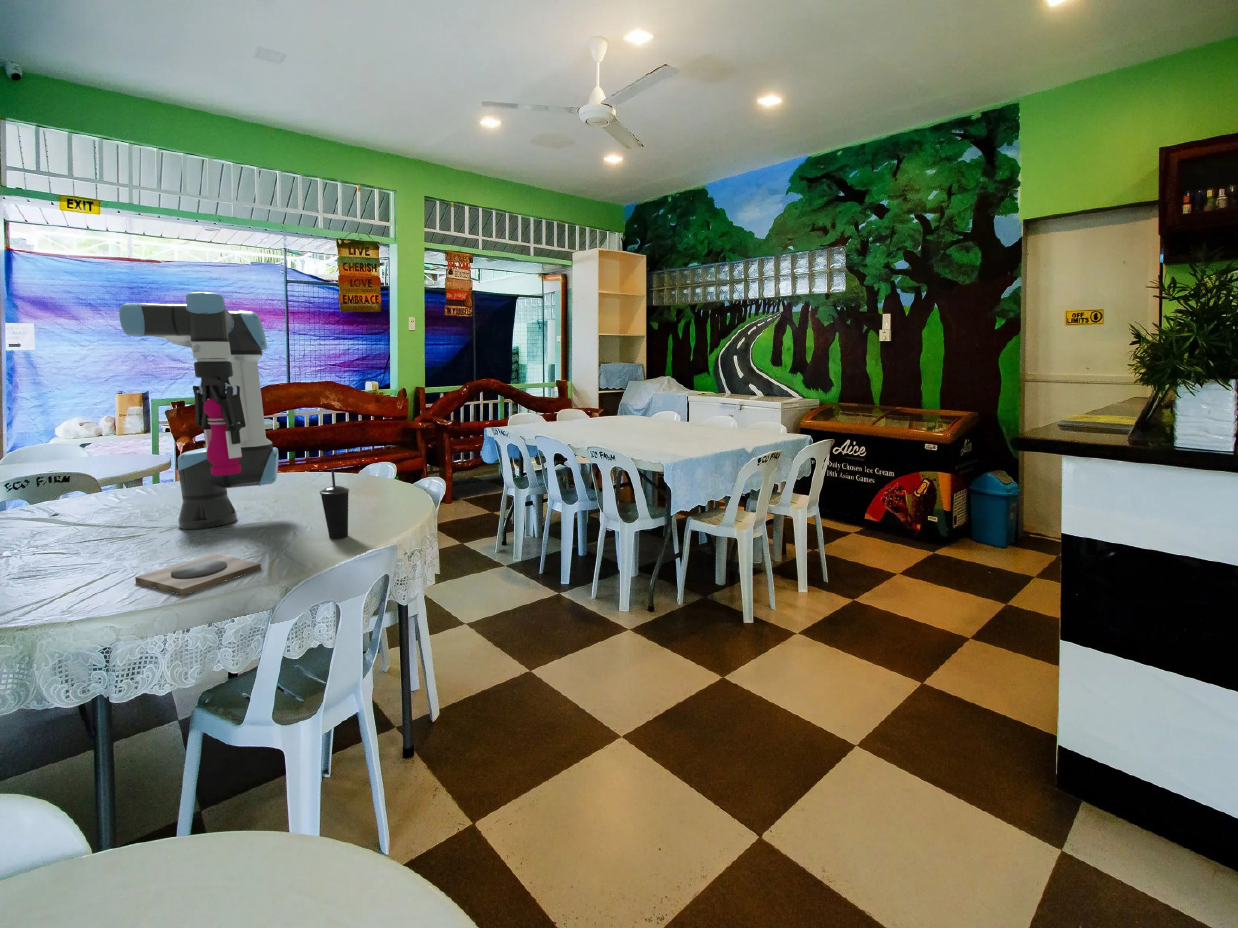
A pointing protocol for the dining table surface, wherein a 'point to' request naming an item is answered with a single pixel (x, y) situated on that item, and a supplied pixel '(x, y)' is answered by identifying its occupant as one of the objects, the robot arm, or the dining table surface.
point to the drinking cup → (336, 509)
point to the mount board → (197, 574)
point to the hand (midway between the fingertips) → (224, 456)
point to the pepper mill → (219, 442)
